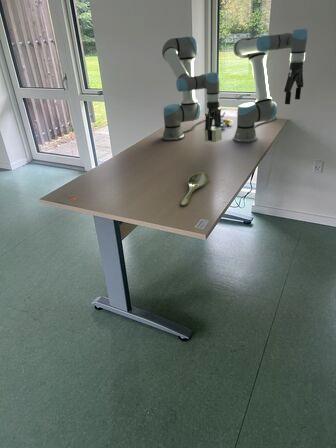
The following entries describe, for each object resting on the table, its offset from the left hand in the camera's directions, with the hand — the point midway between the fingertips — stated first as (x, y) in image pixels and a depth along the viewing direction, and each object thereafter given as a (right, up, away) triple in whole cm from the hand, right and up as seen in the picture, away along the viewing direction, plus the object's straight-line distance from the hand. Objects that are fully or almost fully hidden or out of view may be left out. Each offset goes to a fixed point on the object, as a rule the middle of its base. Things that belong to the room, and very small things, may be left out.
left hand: (213, 138), depth 212 cm
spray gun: (+14, +23, +53) cm, 59 cm away
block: (0, -1, 0) cm, 1 cm away
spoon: (-16, -37, -42) cm, 58 cm away
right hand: (+44, +17, -17) cm, 50 cm away
